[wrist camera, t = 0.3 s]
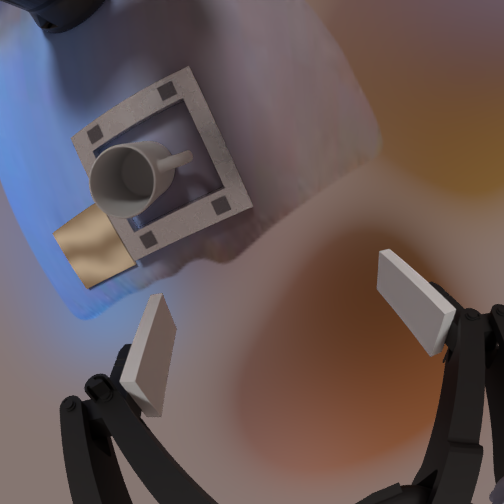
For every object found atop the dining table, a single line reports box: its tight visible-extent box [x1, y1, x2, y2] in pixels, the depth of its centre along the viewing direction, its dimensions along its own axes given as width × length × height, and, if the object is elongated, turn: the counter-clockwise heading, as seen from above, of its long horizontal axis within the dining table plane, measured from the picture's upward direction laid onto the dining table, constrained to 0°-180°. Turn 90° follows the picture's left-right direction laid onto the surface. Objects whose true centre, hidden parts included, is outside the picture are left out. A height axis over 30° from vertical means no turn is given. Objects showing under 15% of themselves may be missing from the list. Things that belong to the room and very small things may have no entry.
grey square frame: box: [71, 66, 253, 261], centre depth 35 cm, size 22×20×2 cm
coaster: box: [53, 203, 136, 289], centre depth 40 cm, size 12×12×1 cm
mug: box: [89, 141, 193, 219], centre depth 31 cm, size 12×8×11 cm
